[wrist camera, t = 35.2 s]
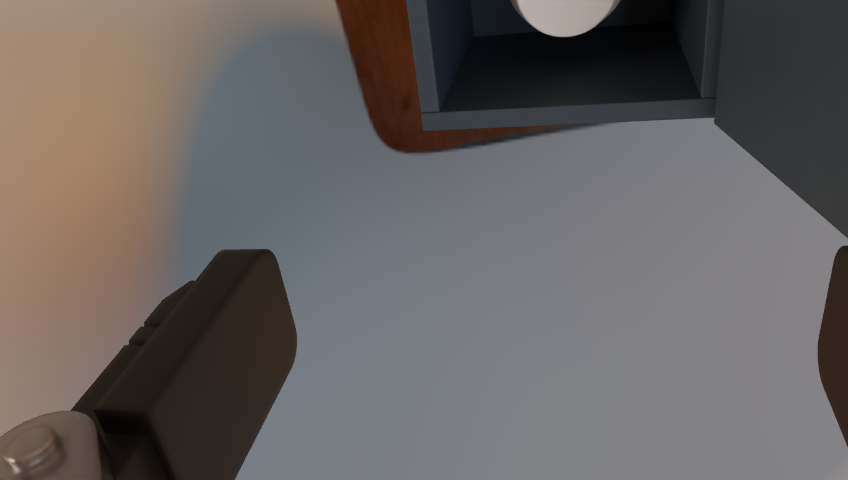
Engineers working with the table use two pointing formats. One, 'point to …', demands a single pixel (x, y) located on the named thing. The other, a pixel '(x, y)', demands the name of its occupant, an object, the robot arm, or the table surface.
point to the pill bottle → (564, 15)
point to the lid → (790, 94)
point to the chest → (564, 64)
